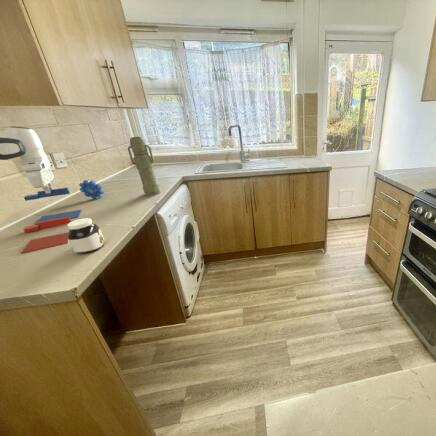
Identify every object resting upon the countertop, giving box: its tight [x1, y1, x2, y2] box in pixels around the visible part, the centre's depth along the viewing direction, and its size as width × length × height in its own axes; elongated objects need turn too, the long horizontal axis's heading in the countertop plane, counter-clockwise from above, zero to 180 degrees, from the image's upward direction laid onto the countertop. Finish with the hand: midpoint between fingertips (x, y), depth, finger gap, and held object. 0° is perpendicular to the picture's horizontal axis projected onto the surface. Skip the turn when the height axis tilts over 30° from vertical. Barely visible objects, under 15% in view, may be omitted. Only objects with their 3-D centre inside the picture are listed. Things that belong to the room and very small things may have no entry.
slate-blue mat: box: [34, 209, 83, 225], centre depth 123 cm, size 16×12×1 cm
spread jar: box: [66, 217, 105, 255], centre depth 91 cm, size 12×11×12 cm
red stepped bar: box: [23, 217, 72, 234], centre depth 112 cm, size 16×4×3 cm, turn 122°
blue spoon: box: [23, 187, 71, 201], centre depth 118 cm, size 16×4×3 cm, turn 122°
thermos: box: [127, 136, 161, 197], centre depth 147 cm, size 9×12×35 cm
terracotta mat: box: [20, 231, 69, 255], centre depth 100 cm, size 16×12×1 cm
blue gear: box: [78, 179, 105, 200], centre depth 147 cm, size 12×7×12 cm, turn 108°
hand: (49, 192), depth 118 cm, fingers closed on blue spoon
